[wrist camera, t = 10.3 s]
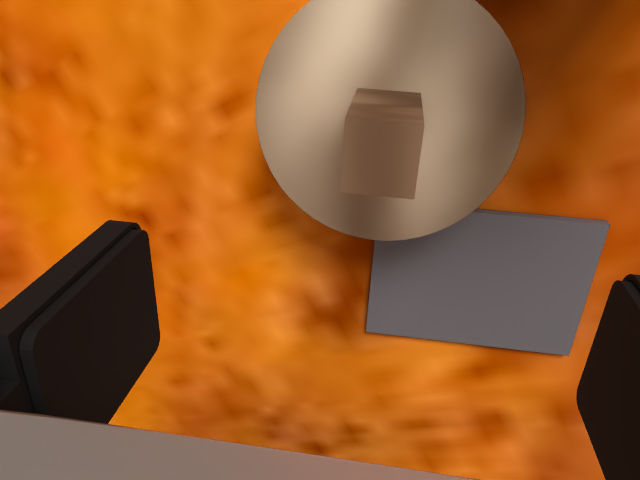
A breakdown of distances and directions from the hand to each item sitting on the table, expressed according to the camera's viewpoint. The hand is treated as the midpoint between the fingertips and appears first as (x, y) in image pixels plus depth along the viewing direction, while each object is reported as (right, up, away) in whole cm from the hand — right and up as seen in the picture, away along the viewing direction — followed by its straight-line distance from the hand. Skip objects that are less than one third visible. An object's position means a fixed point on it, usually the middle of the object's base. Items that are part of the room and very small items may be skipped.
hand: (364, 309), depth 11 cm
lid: (+2, +8, +16) cm, 18 cm away
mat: (+10, -1, +25) cm, 27 cm away
